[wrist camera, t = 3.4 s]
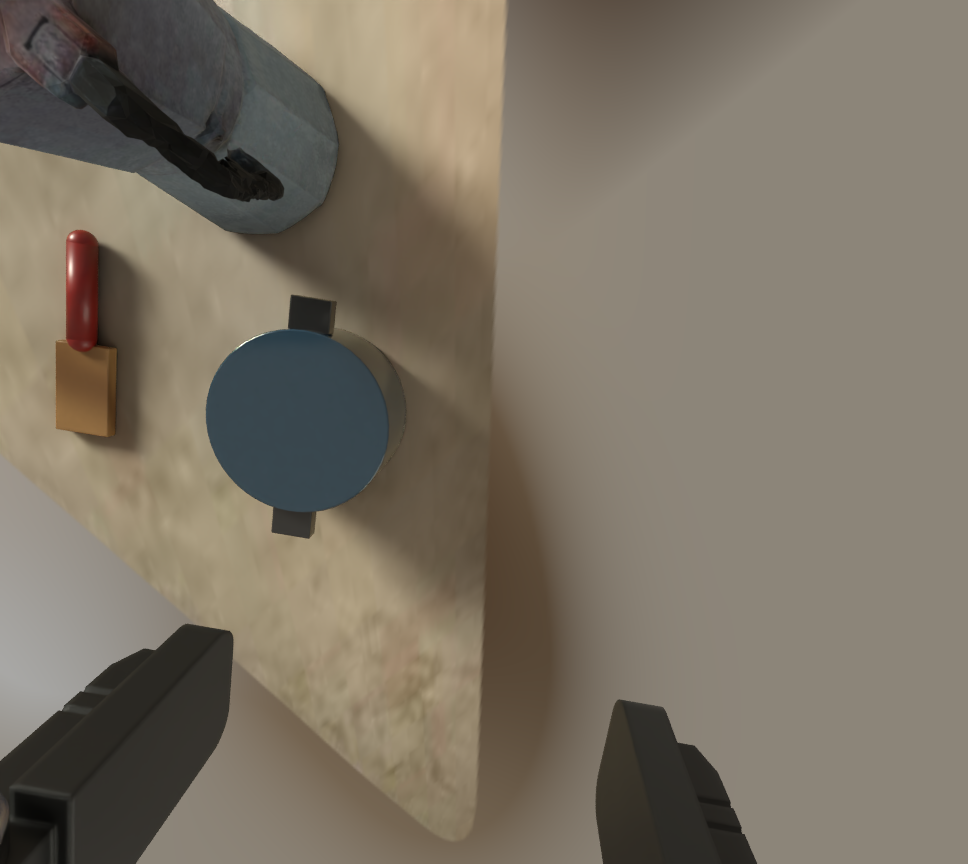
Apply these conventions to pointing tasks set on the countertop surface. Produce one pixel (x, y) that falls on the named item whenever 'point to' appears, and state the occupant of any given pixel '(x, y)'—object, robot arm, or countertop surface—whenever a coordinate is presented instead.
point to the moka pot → (169, 104)
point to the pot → (305, 415)
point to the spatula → (84, 348)
